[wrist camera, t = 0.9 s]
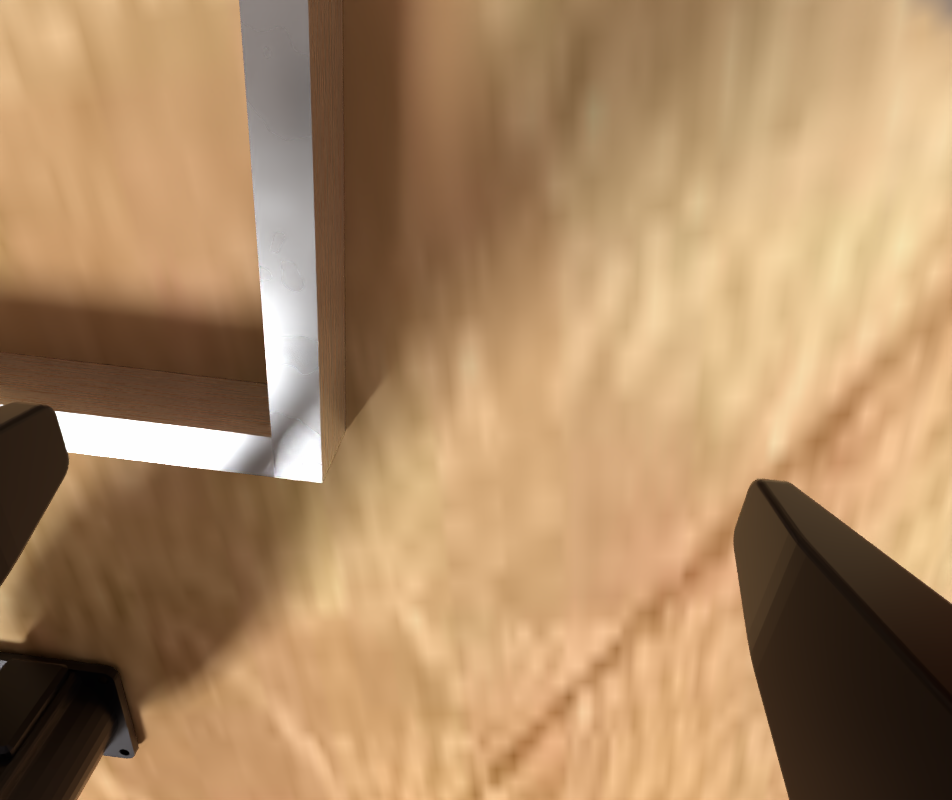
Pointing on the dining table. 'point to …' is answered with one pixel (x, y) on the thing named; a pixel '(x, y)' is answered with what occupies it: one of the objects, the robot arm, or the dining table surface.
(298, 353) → the grey square frame
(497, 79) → the dining table surface
